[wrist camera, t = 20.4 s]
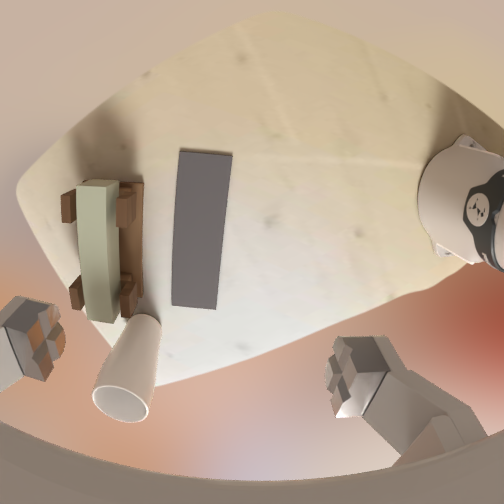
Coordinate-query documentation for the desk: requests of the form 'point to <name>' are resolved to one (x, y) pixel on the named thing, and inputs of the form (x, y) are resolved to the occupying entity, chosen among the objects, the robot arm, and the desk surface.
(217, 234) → the pad
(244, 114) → the desk surface
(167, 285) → the desk surface
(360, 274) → the desk surface
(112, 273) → the clay strip
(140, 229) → the rack
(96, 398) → the drinking glass
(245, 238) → the desk surface
